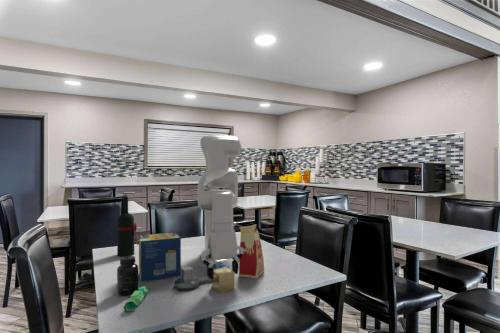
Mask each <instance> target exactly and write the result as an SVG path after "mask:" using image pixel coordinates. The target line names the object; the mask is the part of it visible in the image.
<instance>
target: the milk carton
mask: <svg viewBox="0 0 500 333" xmlns="http://www.w3.org/2000/svg"><path fill="white" fill-rule="evenodd" d="M238 228H239V229H240V240H239V242H240V243H239V246H240V247H242V248H244V249H245V250H244V252H243V254H242V255H243V256H242V257H241V259H240V262H238V277H243V278H250V277H251V279H256V280H257V279H258V278H259V277H260V276H261V275H262V274H263V273H264V272H265V262H264V255H263V253H264V252H263V249H262V241H261V238H260V233H259V231H258V228H257V224H252V225H248V226H242V227H241V226H240V227H238Z"/></svg>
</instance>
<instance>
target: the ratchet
mask: <svg viewBox="0 0 500 333" xmlns="http://www.w3.org/2000/svg"><path fill="white" fill-rule="evenodd" d="M193 273H194V269H193V267H191V266H190V265H189V266H184V267H181V276H180V277H178V278H176V279H175V280H174V281H173V288H174V289H175V290H176V291H179V292H188V291H193V290H196V289H198V288H199V287H200V285H205V284H209V283H212V279H210V278H209V277H208V276H207V275H206V276H202V277H196V276H194V274H193Z"/></svg>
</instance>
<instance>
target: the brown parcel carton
mask: <svg viewBox="0 0 500 333" xmlns="http://www.w3.org/2000/svg"><path fill="white" fill-rule="evenodd" d="M219 268H220V269H215V268H214V269H213V279H212V282H211V288H212V289H214V290H215V291H216V292H217V293H219V294H220V293H225V292H228V291H232V290H235V288H236V287H235V286H236V285H235V279H236V278H235V273H234V271H232V269H231V268H230V267H229V268H227V267H225V268H221V267H219Z"/></svg>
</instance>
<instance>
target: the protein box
mask: <svg viewBox="0 0 500 333" xmlns="http://www.w3.org/2000/svg"><path fill="white" fill-rule="evenodd" d="M181 242H182V239H181V236H179V234H178V233H177V232H176V231H175V232H166V233H165V232H164V233H153V234H141V235H138V244H139V245H138V276H139V281H140V283H142V282H143V283H144V282H148V281H149V282H151V281H157V280H163V279H164V280H165V279H171V278H177V277H178V278H179V277H181V268H182V267H181V266H182V256H181V255H182V249H181V248H182V246H181V244H182V243H181Z"/></svg>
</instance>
